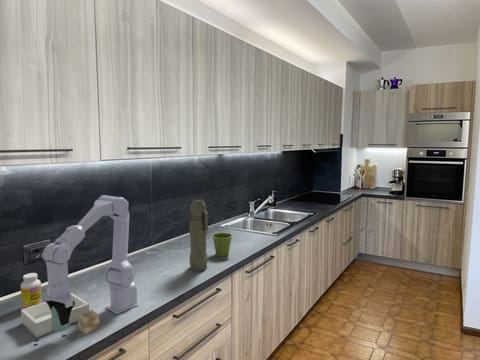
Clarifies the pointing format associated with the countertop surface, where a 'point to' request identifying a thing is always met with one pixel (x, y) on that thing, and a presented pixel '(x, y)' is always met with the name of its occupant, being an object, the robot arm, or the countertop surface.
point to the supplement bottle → (30, 290)
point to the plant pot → (222, 243)
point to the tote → (49, 316)
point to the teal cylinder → (57, 322)
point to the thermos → (198, 235)
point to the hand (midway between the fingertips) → (60, 321)
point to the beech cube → (88, 321)
